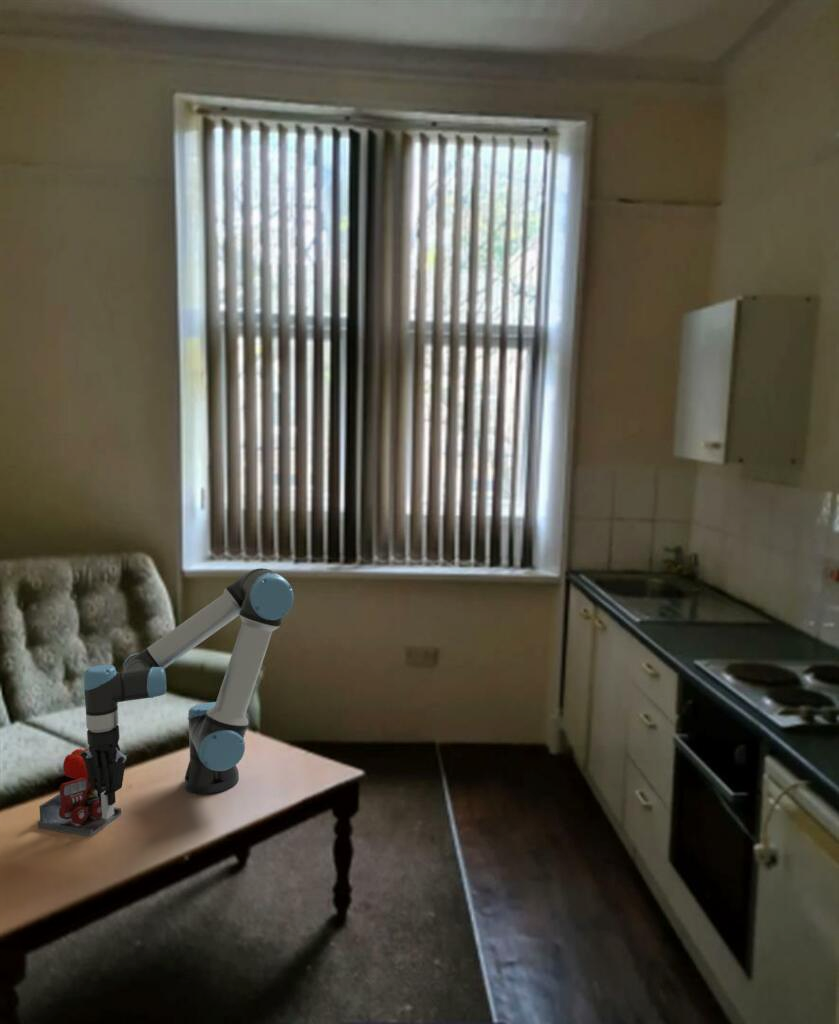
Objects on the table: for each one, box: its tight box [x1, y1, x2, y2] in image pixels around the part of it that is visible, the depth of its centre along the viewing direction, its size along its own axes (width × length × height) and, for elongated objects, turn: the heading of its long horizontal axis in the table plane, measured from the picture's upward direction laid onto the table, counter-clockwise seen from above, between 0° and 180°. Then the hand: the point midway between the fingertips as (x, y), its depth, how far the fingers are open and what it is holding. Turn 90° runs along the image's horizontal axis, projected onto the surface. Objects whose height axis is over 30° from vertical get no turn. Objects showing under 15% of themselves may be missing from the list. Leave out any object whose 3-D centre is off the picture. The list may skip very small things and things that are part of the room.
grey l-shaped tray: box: [37, 793, 122, 837], centre depth 195 cm, size 16×12×6 cm
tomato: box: [62, 748, 89, 780], centre depth 222 cm, size 9×9×8 cm
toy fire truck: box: [59, 777, 102, 824], centre depth 194 cm, size 7×12×10 cm, turn 146°
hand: (108, 815), depth 193 cm, fingers closed
